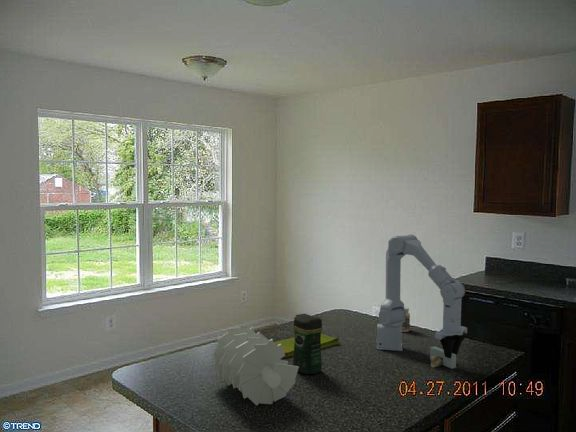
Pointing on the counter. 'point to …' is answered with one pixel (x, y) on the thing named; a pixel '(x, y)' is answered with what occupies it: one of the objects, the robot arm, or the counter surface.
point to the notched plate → (446, 361)
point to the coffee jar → (307, 344)
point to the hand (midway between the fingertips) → (450, 356)
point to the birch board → (436, 361)
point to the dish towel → (289, 343)
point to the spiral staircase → (254, 365)
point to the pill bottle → (406, 321)
